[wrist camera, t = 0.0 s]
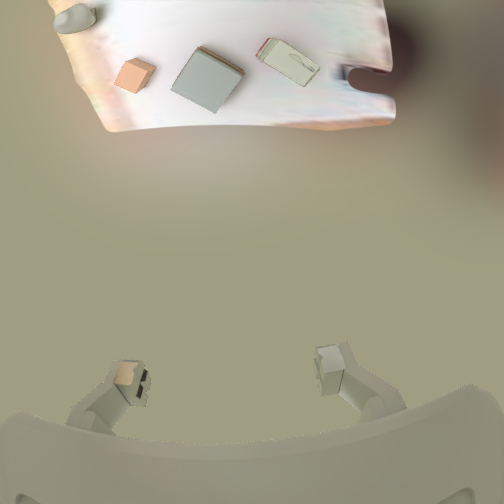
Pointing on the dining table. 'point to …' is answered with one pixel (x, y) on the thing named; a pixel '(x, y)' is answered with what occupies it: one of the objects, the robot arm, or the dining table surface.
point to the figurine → (74, 19)
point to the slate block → (206, 81)
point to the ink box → (288, 61)
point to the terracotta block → (134, 75)
